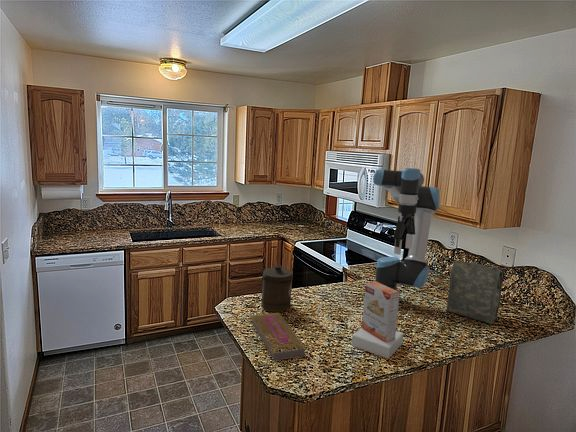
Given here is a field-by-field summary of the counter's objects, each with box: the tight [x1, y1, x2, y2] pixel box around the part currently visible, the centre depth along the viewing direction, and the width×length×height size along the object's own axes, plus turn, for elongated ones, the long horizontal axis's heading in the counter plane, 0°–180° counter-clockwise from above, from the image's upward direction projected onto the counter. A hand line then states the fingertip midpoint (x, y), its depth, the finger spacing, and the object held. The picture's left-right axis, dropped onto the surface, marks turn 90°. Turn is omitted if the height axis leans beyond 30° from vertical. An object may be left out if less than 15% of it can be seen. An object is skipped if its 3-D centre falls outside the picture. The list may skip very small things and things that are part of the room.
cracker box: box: [361, 280, 401, 342], centre depth 163 cm, size 14×6×21 cm, turn 33°
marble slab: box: [351, 327, 404, 359], centre depth 166 cm, size 16×16×5 cm
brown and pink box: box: [249, 312, 309, 361], centre depth 167 cm, size 35×14×6 cm, turn 20°
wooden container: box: [261, 264, 293, 313], centre depth 198 cm, size 15×15×22 cm
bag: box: [445, 259, 504, 325], centre depth 199 cm, size 22×16×27 cm
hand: (402, 251), depth 175 cm, fingers open, 13 cm apart
